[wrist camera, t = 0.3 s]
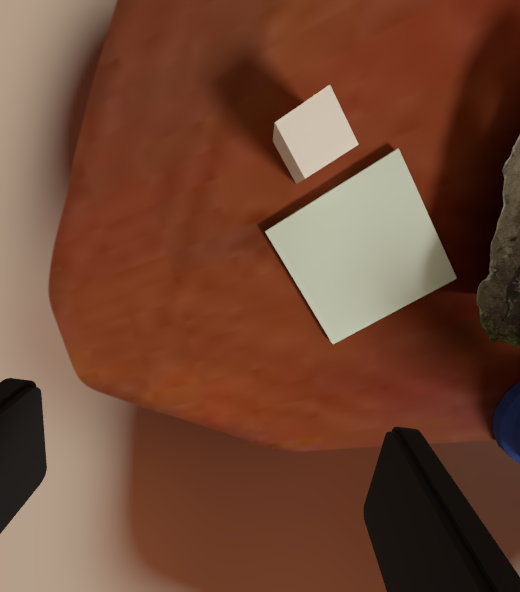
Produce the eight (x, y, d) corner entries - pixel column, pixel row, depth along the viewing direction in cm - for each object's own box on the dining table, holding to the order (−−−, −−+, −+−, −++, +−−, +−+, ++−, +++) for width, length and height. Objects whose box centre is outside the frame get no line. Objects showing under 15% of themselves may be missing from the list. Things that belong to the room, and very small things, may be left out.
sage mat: (394, 149, 33) (398, 148, 32) (452, 276, 36) (457, 278, 36) (264, 230, 35) (264, 231, 34) (330, 341, 39) (332, 344, 38)
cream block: (314, 112, 32) (329, 84, 24) (337, 157, 33) (358, 144, 25) (272, 141, 33) (274, 122, 25) (296, 184, 34) (305, 178, 26)
